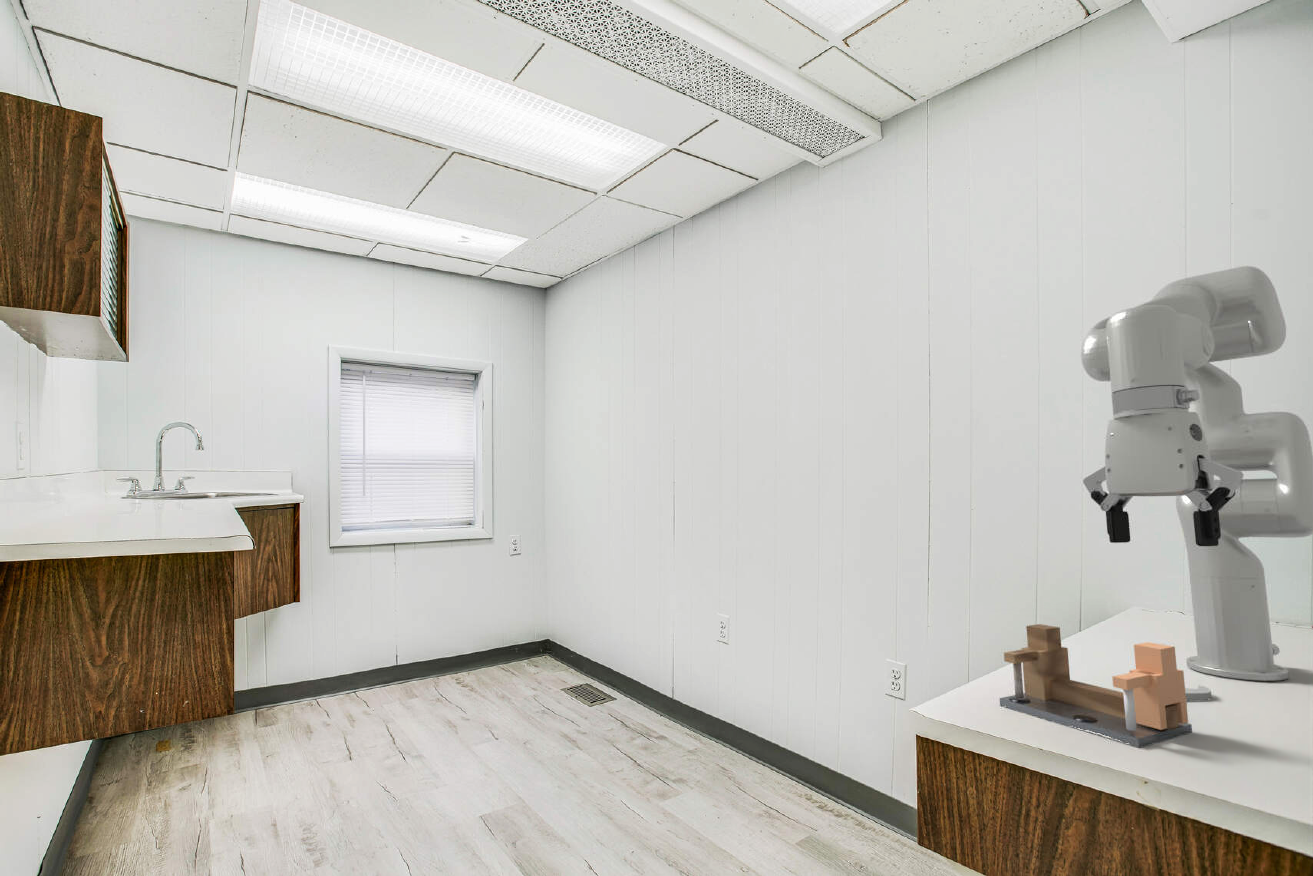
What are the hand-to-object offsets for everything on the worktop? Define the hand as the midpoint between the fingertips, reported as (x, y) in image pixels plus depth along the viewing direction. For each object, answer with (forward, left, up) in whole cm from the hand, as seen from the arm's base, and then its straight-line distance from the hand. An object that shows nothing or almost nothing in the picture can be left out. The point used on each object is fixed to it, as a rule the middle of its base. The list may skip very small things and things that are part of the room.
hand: (1161, 544), depth 79 cm
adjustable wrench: (-12, -11, -24) cm, 29 cm away
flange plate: (+1, -10, -23) cm, 25 cm away
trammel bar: (+1, -10, -22) cm, 24 cm away
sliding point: (+1, -3, -22) cm, 22 cm away
